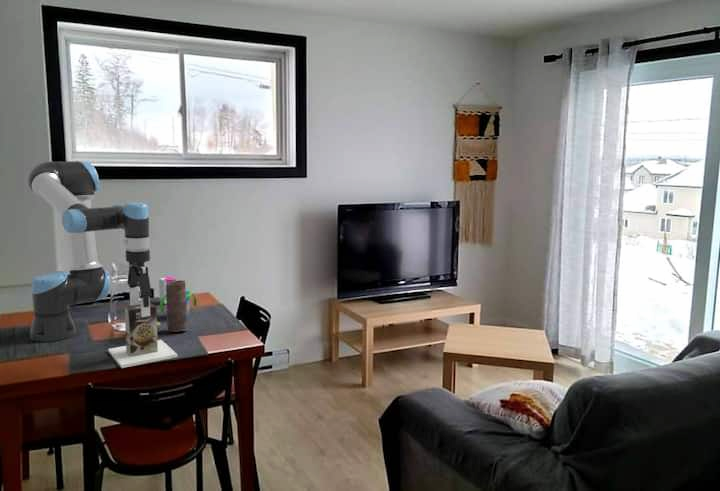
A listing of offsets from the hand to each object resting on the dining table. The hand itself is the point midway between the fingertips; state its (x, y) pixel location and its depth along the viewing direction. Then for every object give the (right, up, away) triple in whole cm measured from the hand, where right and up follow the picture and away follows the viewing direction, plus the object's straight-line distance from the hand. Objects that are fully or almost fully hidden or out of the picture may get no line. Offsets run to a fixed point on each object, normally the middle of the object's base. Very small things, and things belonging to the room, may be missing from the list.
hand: (140, 310), depth 190 cm
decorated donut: (-8, -11, +26) cm, 30 cm away
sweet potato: (+4, -11, +27) cm, 30 cm away
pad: (0, -15, +2) cm, 15 cm away
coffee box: (0, -14, +2) cm, 15 cm away
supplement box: (-14, -4, +67) cm, 69 cm away
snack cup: (-2, -8, +46) cm, 47 cm away
